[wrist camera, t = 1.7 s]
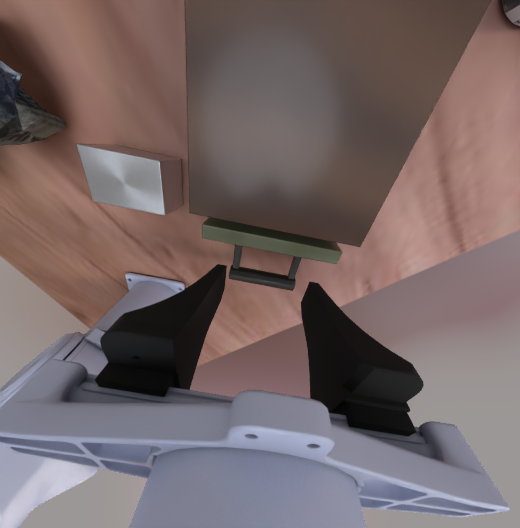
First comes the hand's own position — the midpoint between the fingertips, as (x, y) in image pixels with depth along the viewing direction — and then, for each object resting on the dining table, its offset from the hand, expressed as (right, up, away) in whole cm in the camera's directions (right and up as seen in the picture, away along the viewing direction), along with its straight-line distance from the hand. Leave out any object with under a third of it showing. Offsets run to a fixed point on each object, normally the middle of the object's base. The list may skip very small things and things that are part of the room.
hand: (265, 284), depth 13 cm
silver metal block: (-11, +10, +6) cm, 16 cm away
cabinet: (+3, +14, +2) cm, 14 cm away
